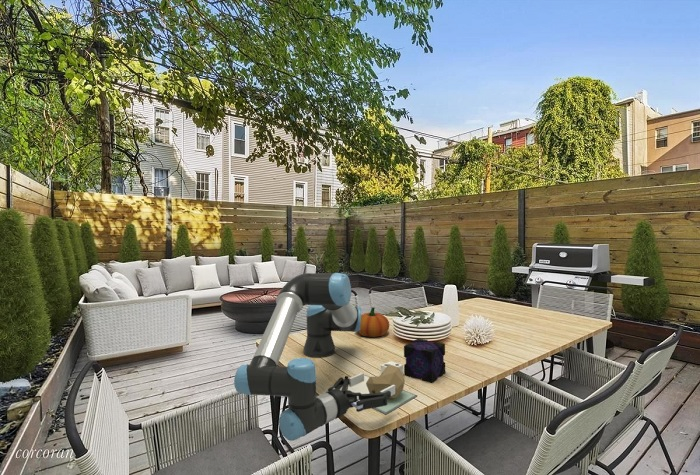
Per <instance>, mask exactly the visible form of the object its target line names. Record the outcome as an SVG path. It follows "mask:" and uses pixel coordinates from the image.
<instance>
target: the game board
mask: <svg viewBox="0 0 700 475" xmlns="http://www.w3.org/2000/svg"><path fill="white" fill-rule="evenodd" d="M369 377H370V376H369V375H367V374H364V381H363V382H361V383H359V384H356V385H354V386H352V387H349V385H348V391H349V390H350V391H352V392H354V393H361V394H370V393H369V390H368V388H367V385H366V382H367V381H368V379H369ZM341 389H342V388H341ZM341 389H340V390H341ZM417 397H418V395H417V394H415V393H412V392H410V391H408V390H407V391H406V390H404V389H403V391H402V392H401V393H400V394H399V395H398V396H397V397H396V398H394V399H387V405H386V406H381V407H376V408H371V409H372V410H375V411H376V412H379V413H381V414H383V415H385V416H387V415H388V414H390V413H391V412H394V411H395V410H396V409H398V408H400V407H402V406H403V405H405V404H407V403H408V402H410V401H412V400H413V399H415V398H417ZM358 400H359V396H357V401H358Z"/></svg>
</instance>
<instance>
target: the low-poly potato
mask: <svg viewBox="0 0 700 475" xmlns="http://www.w3.org/2000/svg"><path fill="white" fill-rule="evenodd" d="M366 385H367V388H368V390H369V393H370V394H373V393H380V391H382V390H384V389H386V388H388V387H390V386H392V385H395V394H394V395H392V396H391V397H390V398H388V399H394V398H396V397H397V396H398V395H399V394H400V393H401V392H402V391H403V390H404V386H405V376H404V373H403V374H402V372H401V370H400V369H399V367H396V366H393V365H390V364H388V365H387V367H386V369H385V370H384V371H383V372H382V373H381V372H380V374H379V376H377V375H376V376H369V379H368V381H367V382H366Z"/></svg>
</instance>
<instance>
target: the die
mask: <svg viewBox="0 0 700 475" xmlns="http://www.w3.org/2000/svg"><path fill="white" fill-rule="evenodd" d="M388 364H390V365H393V366H396V367H399V369H400V370H401V372H402V374H403V375H404V373H403V372H404V368H403V367H404V365H403V364H401V363H397V362H395V361H392V360H389V361H388V362H385V363H383V364H380V374H381V373H382V372H383V371H384V370H385V369H386V367H387V365H388Z"/></svg>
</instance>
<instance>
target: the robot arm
mask: <svg viewBox="0 0 700 475" xmlns="http://www.w3.org/2000/svg"><path fill="white" fill-rule="evenodd" d="M350 281H351V280H350V278H349V276H348V275H347V274H346V273H339V272H335V273H320V272H318V273H317V272H315V273H313V272H306V273H301V274H299V275H296V276H294V277H293V278H291V279H290V280H288V281H287V283H286V284H284V286H283V287H282V288H281V289H280V291H279V292H278V294H277V296H276V299H275V303H276V306H275V308H274V310H273V312H272V315H271V317H270V320H269V321H268V324H267V326H266V328H265V330H264V332H263V335H262V337H261V339H260V342H259V344H258V346H257V348H256V351H255V352H254V355H253V357H252V359H251V361H250V363H249V364H248V363H246V364H241V365H240V366H239V367H237V369H236V372H235V374H234V381H233V384H234V385H233V386H234V389H235V391H236V392H237V393H238V394H243V395H249V396H272V397H284V398H285V397H286V398H287V404H288V407H287V409H284V410H283V411H282V412H281V413H280V414H279V415H280V416H279V418H278V426H279V429H280V430H279V431H280V432H281V435H282V436H283V437H284V438H285V439H286V440H288V441H290V442H292V441H295V440H298V439H300V438H302V437H306V435H308V434H310V433H311V432H314V431H316V430H317V429H318V428H320V427H323V426H324V425H327V424H328V423H331V422H332V421H334V420H336V419H338V418H341V417H342V416H344V415H345V414H346V413H347V412H348V410H349V409H351V408H355V409H356V412H358V413H359V412H362V411H365V410H369V409H372V408H376V407H381V406H386V405H387V399H388V398H390V397H391V396H392V395H394V394H395V385H392V386H390V387H388V388H386V389H384V390H382V391H380V393H373V394H361V393H354V392H352V391H350V390H349V391H348V385H349V387H352V386H354V385H356V384H359V383H361V382H363V381H364V375H365V373H364V372H361V373H359V374H356V375H353V376H351V377H349V376H348V375H346V376H344V377H341V376H340V377H339V378H338V380H336V382H334V384H332V386H330V387H328V388H327V391H326V392H325V393H321V394H320V395H317V373H316V362H315V361H313V360H312V359H311V358H324V357H329V356H332V355H333V354H335V352H336V346H335V343H334V339H333V337H332V332H352V333H356V332H357V331H360V324H361V315H362V308H361V306H358V305H356V306H354V305H353V304H352V303H351V302H350V301H351V298H352V285H351V282H350ZM303 306H307V308H306V314H305V316H306V340H305V343H304V346H303V354H304V356H306V357H299V358H297V357H296V358H293V359H291V360H290V361H288V363H287V365H286V366H281V365H279V362H280V360H281V357H282V354H283V352H284V349H285V346H286V343H287V341H288V338H289V336H290V332H291V330H292V328H293V325H294V322H295V320H296V317H297V314H298V313H299V312H301V310H302V309H303ZM357 333H358V332H357ZM307 357H310V358H307ZM341 388H342V389H341ZM340 389H341V390H340ZM357 396H359V400H358V401H357Z"/></svg>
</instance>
